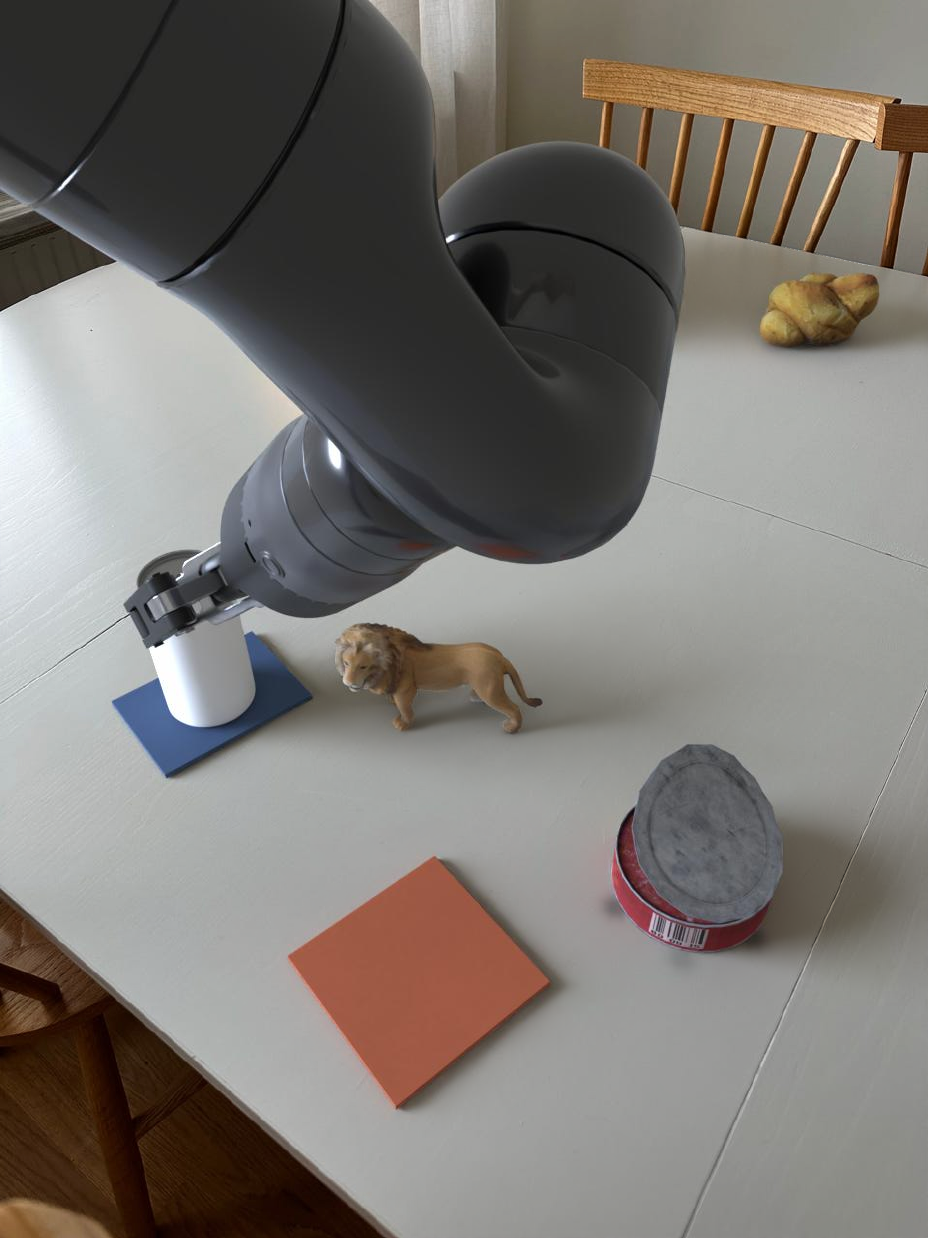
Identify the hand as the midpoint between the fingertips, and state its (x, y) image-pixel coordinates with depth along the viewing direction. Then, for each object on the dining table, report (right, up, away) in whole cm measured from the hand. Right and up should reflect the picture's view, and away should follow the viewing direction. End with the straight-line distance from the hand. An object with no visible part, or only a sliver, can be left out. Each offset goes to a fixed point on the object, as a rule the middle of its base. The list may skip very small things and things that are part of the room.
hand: (241, 584), depth 55 cm
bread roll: (+52, +31, +61) cm, 86 cm away
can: (-6, -8, +19) cm, 21 cm away
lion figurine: (+10, -9, +17) cm, 22 cm away
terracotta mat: (+10, -23, +3) cm, 25 cm away
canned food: (+27, -19, +7) cm, 33 cm away
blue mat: (-6, -8, +19) cm, 21 cm away
